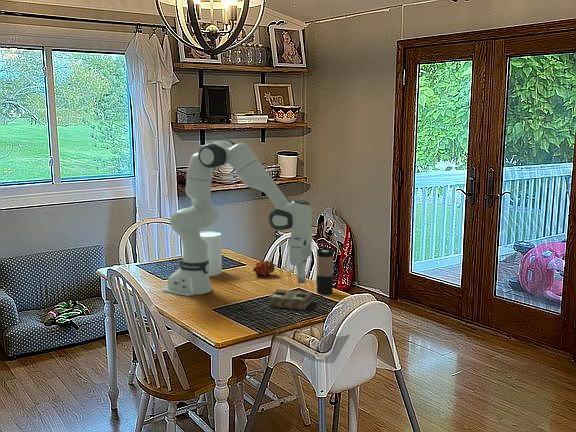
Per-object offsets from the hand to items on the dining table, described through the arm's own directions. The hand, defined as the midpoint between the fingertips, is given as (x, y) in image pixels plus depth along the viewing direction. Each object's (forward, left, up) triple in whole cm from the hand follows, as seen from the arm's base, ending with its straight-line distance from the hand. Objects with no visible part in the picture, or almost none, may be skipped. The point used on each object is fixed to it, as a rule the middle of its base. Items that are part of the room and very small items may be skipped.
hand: (301, 270), depth 257 cm
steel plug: (0, 0, -5) cm, 5 cm away
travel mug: (+5, +20, -15) cm, 26 cm away
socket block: (-5, 0, -15) cm, 16 cm away
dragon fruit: (-31, +38, -15) cm, 51 cm away
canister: (-60, +35, -15) cm, 71 cm away
